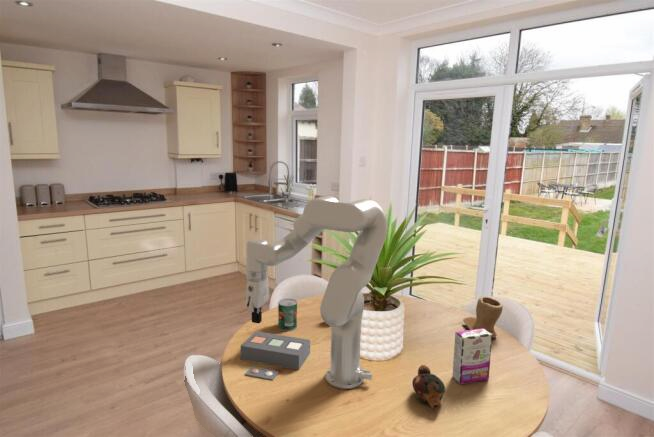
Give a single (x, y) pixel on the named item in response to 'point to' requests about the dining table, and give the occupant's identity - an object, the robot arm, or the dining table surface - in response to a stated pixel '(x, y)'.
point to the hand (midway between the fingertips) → (256, 321)
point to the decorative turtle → (428, 387)
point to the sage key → (276, 343)
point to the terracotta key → (258, 340)
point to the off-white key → (294, 346)
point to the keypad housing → (275, 351)
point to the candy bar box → (472, 355)
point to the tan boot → (485, 315)
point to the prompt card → (261, 373)
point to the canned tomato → (287, 314)
